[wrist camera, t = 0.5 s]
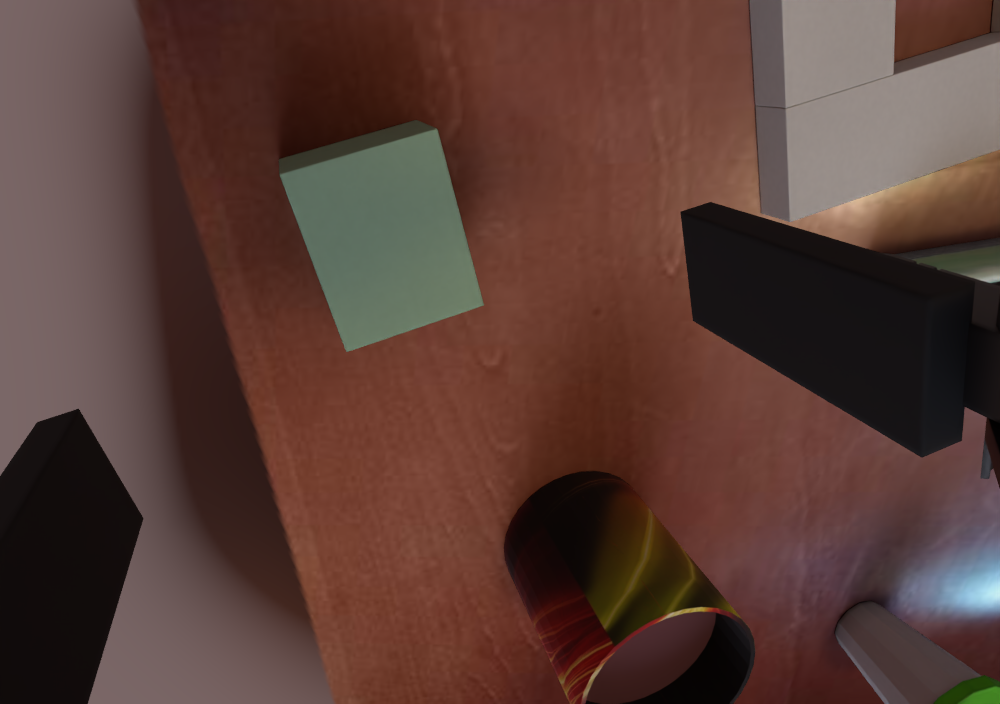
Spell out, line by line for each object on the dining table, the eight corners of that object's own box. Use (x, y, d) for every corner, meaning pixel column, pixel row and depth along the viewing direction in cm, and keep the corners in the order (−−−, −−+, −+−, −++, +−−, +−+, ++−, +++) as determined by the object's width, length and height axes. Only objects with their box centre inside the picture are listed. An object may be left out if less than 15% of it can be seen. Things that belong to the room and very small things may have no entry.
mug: (601, 642, 48) (692, 803, 38) (472, 552, 42) (539, 717, 31) (699, 549, 48) (820, 687, 37) (584, 443, 41) (690, 574, 31)
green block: (278, 159, 30) (279, 174, 26) (416, 119, 31) (437, 127, 27) (338, 318, 34) (346, 352, 30) (460, 277, 35) (484, 305, 31)
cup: (891, 639, 59) (1068, 804, 46) (816, 671, 58) (976, 851, 45) (900, 572, 56) (1094, 729, 43) (820, 604, 54) (995, 777, 41)
